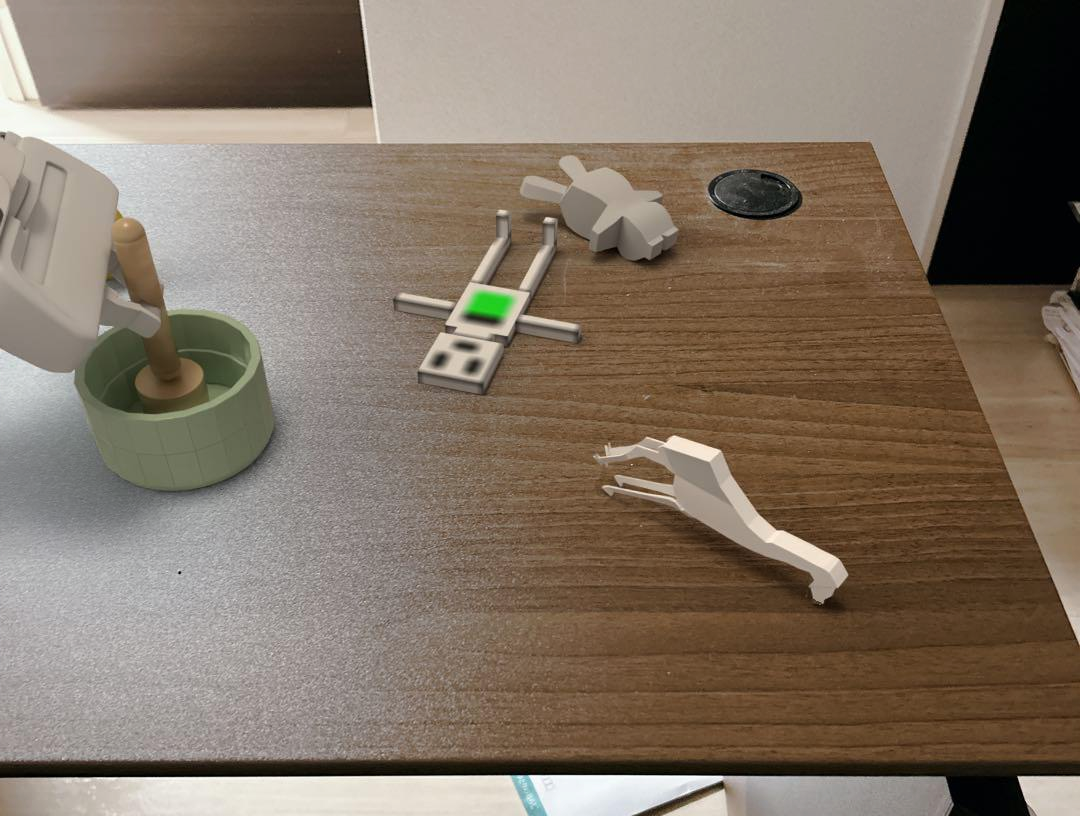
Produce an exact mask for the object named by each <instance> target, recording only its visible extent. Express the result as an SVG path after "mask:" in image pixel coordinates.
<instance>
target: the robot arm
mask: <svg viewBox="0 0 1080 816" xmlns="http://www.w3.org/2000/svg"><path fill="white" fill-rule="evenodd" d="M119 199H120V191H119V189H118V187H117V186H116V185H115V183H114V182H113V181H112V180H111V179H110V178H109V177H108V176H107V175H106V174H104V173H102V172H101V171H100V170H98V169H96V168H94V167H93V166H91V165H89V164H88V163H86V162H84V161H82V160H81V159H79V158H77V157H76V156H74V155H72V154H70V153H68V151H67V152H66V151H65V150H63V149H61V148H59V147H57V146H56V145H54V144H52V143H50V142H47V141H45V140H43V139H41V138H37V137H34V136H23V137H22V136H20V135H19V134H17V133H15V132H13V131H10V130H7V131H0V350H3V351H4V352H6V353H8V354H11V355H12V356H14V357H17V358H18V359H20V360H22V361H24V362H26V363H28V364H30V365H32V366H34V367H36V368H39V369H41V370H43V371H46V372H49V373H55V374H67V373H72V372H75V369H76V368H77V366H78V365H79V364H80V363H81V362H82V361H83V360H84V359H85V357H86V356H87V355H88V354H89V352H90V351H91V350H92V349H93V347H94V346H95V344H96V343H97V340H98V337H99V331H100V328H101V327H100V326H103V327H104V326H105V327H111V328H113V327H121V328H126V327H127V328H128V329H130V330H132V331H134V332H135V333H137V334H139V335H141V336H143V337H145V338H150V337H152V336H153V335H154V334H155V333H156V332H157V331H158V330H159V328H160V327H161V317H162V312H161V310H160V309H159V308H157V307H153V306H152V305H151V304H150V303H148V302H146V301H145V300H143V299H141V300H140V301H139V302H138V304H137V303H133V302H131V301H130V300H126V299H122V298H119V297H120V296H119V295H120V294H119V292H118V291H116V290H114V289H113V288H111V287H109V286H108V285H106V284H107V280H108V279H107V276H108V275H109V274H111V275H112V276H113V278H114V279H115V280H116V281H117V282H119V284H121V285H122V286H123V287H124V288H125V289H127V287H126V284H125V281H124V277H123V274H122V271H121V267H120V264H119V260H118V257H117V254H116V250H115V247H114V243H113V240H112V236H111V229H112V226H113V224H114V223H115V219H116V212H117V209H118V206H119ZM158 280H159V284H160V287H161V291H162V295H163V296H164V292H165V282H164V281H163V280H162V279H160V278H159V277H158Z"/></svg>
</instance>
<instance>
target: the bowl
mask: <svg viewBox="0 0 1080 816" xmlns="http://www.w3.org/2000/svg"><path fill="white" fill-rule="evenodd" d="M167 313H168V317H169V321H170V324H171V328H172V332H173V335H174V339H175V343H176V346H177V350H178V354H179V358H185V359H189V360H192V361H194V362H196V363H197V364H199V365H200V367H201V368H202V370H203V373H204V377H205V381H206V384H207V388H208V392H209V396H210V402H207V403H204V404H201V405H198V406H195V407H193V408H190V409H187V410H184V411H177V412H170V413H163V414H144V412H143V409H142V406H141V403H140V400H139V397H138V393H137V390H136V387H135V379H136V376H137V375H138V373H139V372H140V371H141V370H142V369H143V368H144V367H146V366H147V365H149V362H148V358H147V355H146V352H145V348H144V345H143V341H142V338H141V335H139V334H137V333H135V332H134V331H132V330H130V329H128V328H127V327H126V328H121V327H111V328H109V329H107V330H105V331H103V332H102V333H101V334H99V335H98V340H97V343H96V344H95V346H94V347H93V349H92V350H91V351H90V352H89V354H88V355H87V356H86V357H85V359H84V360H83V361H82V362H81V363H80V364H79V365H78V366H77V368H76V369H75V370H74V378H73V379H74V381H73V385H74V387H75V390H76V393H77V395H78V398H79V401H80V403H81V406H82V409H83V412H84V414H85V415H84V416H85V417H86V420H87V423H88V425H89V428H90V430H91V434H92V436H93V439H94V441H95V445H96V448H97V450H98V452H99V454H100V456H101V458H102V460H103V462H104V464H105V465H106V467H107V468H108V469H110V470H111V471H113V472H114V473H115V474H117V475H118V476H119V477H121V478H122V479H124V480H125V481H127V482H129V483H131V484H133V485H135V486H138V487H141V488H145V489H150V490H155V491H163V492H180V491H188V490H194V489H195V490H196V489H201V488H205V487H209V486H212V485H214V484H218V483H220V482H221V483H222V481H225V480H227V479H230V478H232V477H233V476H236V475H237V474H239V473H240V472H242V471H243V470H245V469H246V468H247V467H249V466H250V465H251V464H252V463H253V462H255V461H256V460H257V459H258V458H259V456H260V455H261V454H262V452H263V451H264V449H265V448H266V447H267V445H268V443H269V442H270V438H271V436H272V434H273V431H274V427H275V416H274V409H273V408H274V407H273V404H272V398H271V393H270V388H269V384H268V380H267V374H266V370H265V364H264V361H263V355H262V350H261V346H260V342H259V340H258V338H257V337H256V336H255V334H254V333H253V332H252V330H251V329H250V328H249V326H247V325H245V324H244V323H242V322H241V321H239V320H238V319H235V318H234V317H232V316H231V315H227V314H223V313H219V312H215V311H211V310H207V309H195V308H194V309H192V308H191V309H190V308H176V309H169V310H168V309H167Z"/></svg>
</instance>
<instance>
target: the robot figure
mask: <svg viewBox="0 0 1080 816" xmlns="http://www.w3.org/2000/svg"><path fill="white" fill-rule="evenodd" d="M541 227H542V231H541V232H542V233H541V246H540V248H539V250H538V251H537V254H536V255H535V257H534V259H533V261H532V263H531V265H530V267H529V269H528V271H527V273H526V274H525V276H524V278H523V280H522V282H521V284H520V286H519V288H518V289H511V288H505V287H500V286H495V285H489V283H490V282H491V280H492V278H493V276H494V275H495V273H496V271H497V269H498V267H499V266H500V264H501V262H502V260H503V259H504V257H505V255H506V253H507V252H508V250H509V249H510V247H511V245H512V211H511V210H505V209H498V211H497V212H496V215H495V235H496V236H495V239H494V240H493V242H492V244H491V245H490V247H489V249H488V251H486V254H485V256H484V257H483V259H482V261H481V262H480V264H479V266H478V268H477V269H476V271H475V272H474V274H473V275H472V278H471V279H470V281H469V283H468V285H467V286H466V288H465V290H464V291H463V293H462V295H461V297H460V298H459V299H458V301H457V302H454V301H448V300H444V299H438V298H432V297H426V296H422V295H417V294H416V295H415V294H409V293H404V292H398V291H397V292H396V294H395V296H394V297H393V298H392V303H393V310H394V311H397V312H398V311H399V312H403V313H409V314H414V315H420V316H426V317H431V318H437V319H441V320H446V322H445V324H444V330H445V331H444V332H439V334H438V336H437V337H436V339H435V341H434V342H433V344H432V346H431V348H430V349H429V350H428V352H427V354H426V356H425V358H424V359H423V361H422V362H421V364H420V366H419V368H418V369H417V382H418V384H425V385H428V386H429V385H430V386H435V387H440V388H445V389H449V390H455V391H460V392H466V393H470V394H471V393H472V394H476V395H477V394H478V395H481V396H483V395H484V394H485V392H486V390H487V388H488V386H489V384H490V383H491V380H492V379H493V376H494V375H495V373H496V371H497V369H498V367H499V365H500V363H501V361H502V359H503V357H504V355H505V352H504V350H505V349H504V347H505V348H508V347H509V345H510V343H511V341H512V340H513V337H514V335H515V334H516V333H519V334H524V335H529V336H535V337H542V338H546V339H552V340H557V341H561V342H568V343H574V344H579V341H580V339H581V337H582V326H583V325H582V324H577V323H571V322H567V321H561V320H555V319H550V318H544V317H539V316H533V315H527V314H526V312H527V310H528V308H529V306H530V304H531V302H532V300H533V298H534V296H535V295H536V292H537V290H538V289H539V286H540V284H541V282H542V280H543V278H544V277H545V274H546V273H547V270H548V269H549V266H550V265H551V263H552V261H553V259H554V257H555V256H556V253H557V251H558V218H554V217H549V216H545V217H544V220H543V221H542V225H541Z"/></svg>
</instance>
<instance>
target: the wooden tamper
mask: <svg viewBox="0 0 1080 816" xmlns="http://www.w3.org/2000/svg"><path fill="white" fill-rule="evenodd" d="M111 236H112V240H113V243H114V247H115V250H116V254H117V257H118V260H119V264H120V267H121V271H122V274H123V277H124V281H125V284H126V287H127V288H126V287H125V288H126V291H127V294H128V298H129V301H130V302H133V303H137V304H138V302H139V301H140V300H141V299H143V300H145V301H146V302H148V303H150V304H151V305H152V306H153V307H157V308H159V309H160V310H161V312H162V317H161V327H160V328H159V330H158V331H157V332H156V333H155V334H154V335H153V336H152V337H150V338H145V337H143V336H141V338H142V341H143V345H144V348H145V352H146V355H147V358H148V362H149V365H147V366H146V367H144V368H143V369H142V370H141V371H140V372H139V373H138V375H137V376H136V379H135V387H136V390H137V393H138V397H139V400H140V403H141V406H142V409H143V412H144V414H163V413H170V412H177V411H184V410H187V409H190V408H193V407H195V406H198V405H201V404H204V403H207V402H210V396H209V392H208V388H207V384H206V381H205V377H204V373H203V370H202V368H201V367H200V365H199V364H197V363H196V362H194V361H192V360H189V359H185V358H179V354H178V350H177V346H176V343H175V339H174V335H173V332H172V328H171V324H170V321H169V317H168V313H167V311H168V309H167V306H166V302H165V299H164V298H165V297H164V294H163V295H162V291H161V287H160V284H159V280H158V278H159V277H158V273H157V269H156V265H155V262H154V258H153V254H152V251H151V247H150V242H149V239H148V236H147V232H146V229H145V227H144V225H143V224H142V223H141V222H140V221H139V220H138V219H135V218H133V217H129V216H126V217H123V218H121V219H119V220H117V221H116V222H115V223H114V224H113V226H112V229H111Z"/></svg>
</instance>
